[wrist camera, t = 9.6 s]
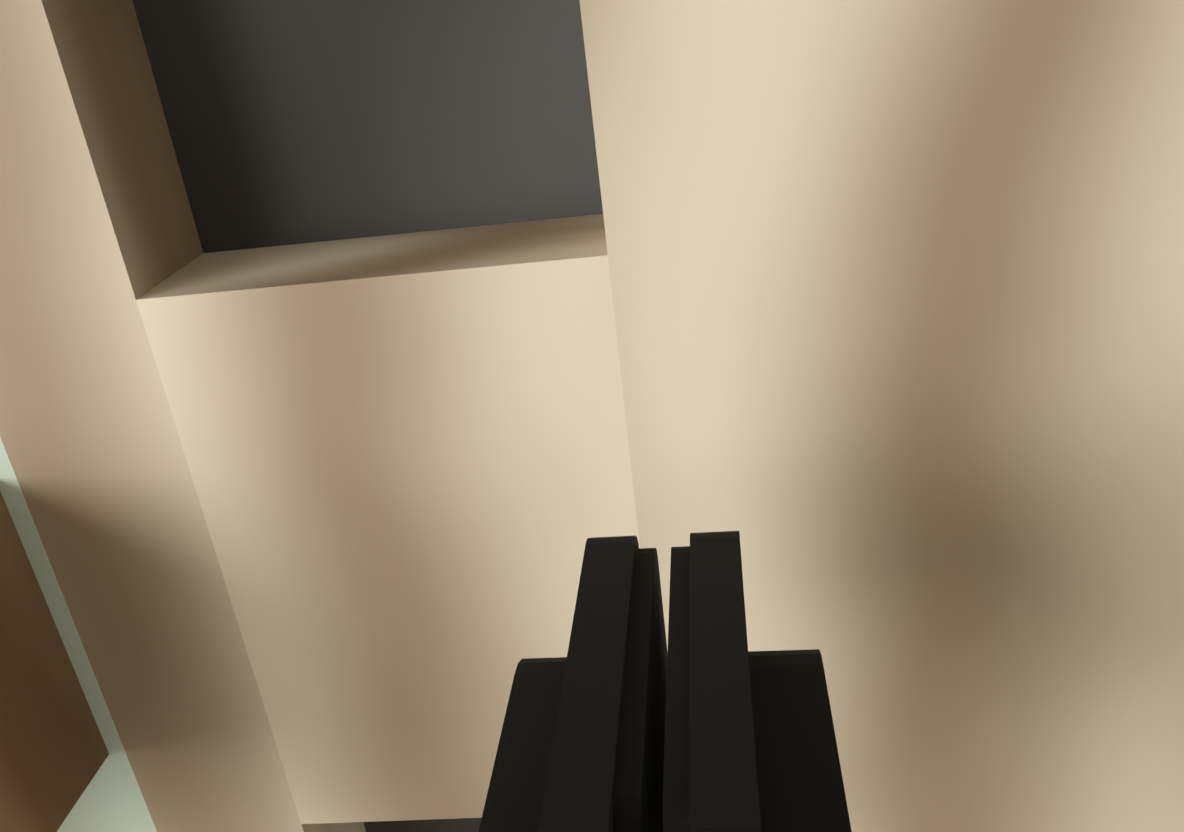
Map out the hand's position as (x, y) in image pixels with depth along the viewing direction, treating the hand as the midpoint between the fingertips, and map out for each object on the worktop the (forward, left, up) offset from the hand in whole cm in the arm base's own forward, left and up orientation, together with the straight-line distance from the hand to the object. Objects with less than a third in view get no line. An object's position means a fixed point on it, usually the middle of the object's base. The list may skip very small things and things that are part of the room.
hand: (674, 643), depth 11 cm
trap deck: (+2, +1, -5) cm, 6 cm away
